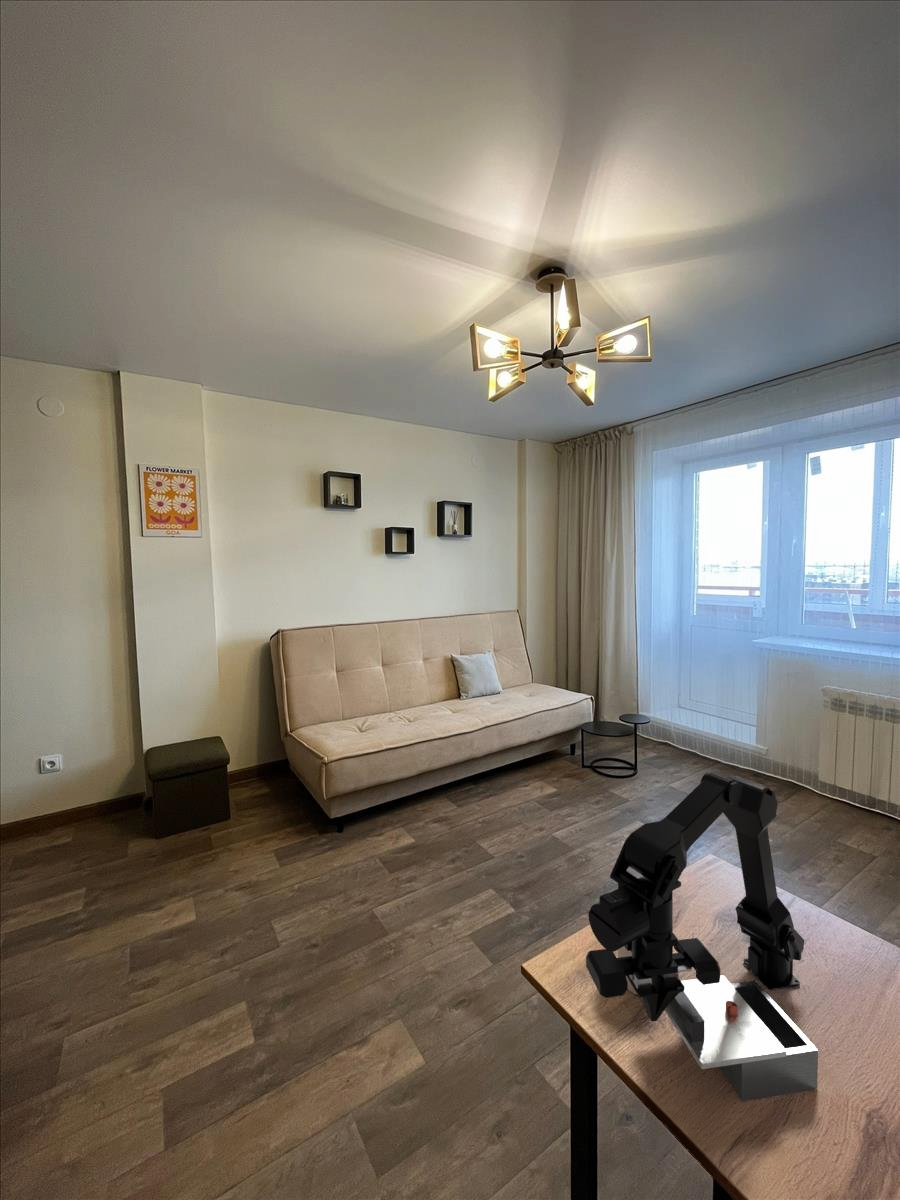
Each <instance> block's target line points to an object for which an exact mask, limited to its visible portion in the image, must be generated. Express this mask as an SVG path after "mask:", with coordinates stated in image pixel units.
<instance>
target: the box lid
mask: <svg viewBox="0 0 900 1200" xmlns="http://www.w3.org/2000/svg"><path fill="white" fill-rule="evenodd" d="M680 981H681V982H682V984H683V985H684V987H685V989H684V992H680V993H679V994H678V995H677V996H676V997H675V998H674V999H673V1000H672V1001H671V1002H670V1004H669V1005H668V1006H667V1007H666V1009H665V1010H664V1012H665V1013H666V1015H667V1016H668V1019H670V1021H671V1023H672V1024H673V1026H674V1027H675V1029H676V1030H677V1032H678V1034H679V1036H680V1037H681V1038H682V1040H683V1041H684V1043H685V1045H686V1047H687V1048H688V1050H689V1052H690V1053H691V1054H692V1056H693V1058H694V1060H695V1061H696V1063H697V1064H698V1066H699V1068H700V1069H701V1070H706V1069H707V1070H708V1069H713V1068H719V1067H720V1066H727V1065H734V1064H740V1063H747V1062H753V1061H760V1060H766V1059H773V1058H779V1057H786V1053H787V1051H786V1050H785V1049H784V1047H783V1046H782V1045H781V1044H780V1043H779V1041H778V1040H777V1039H776V1038H775V1037H774V1035H773V1034H772V1033H771V1032H770V1031H769V1029H768V1028H767V1027H766V1026H765V1025H764V1023H763V1022H762V1021H761V1020H760V1019H759V1017H758V1016H757V1015H756V1014H755V1013H754V1011H753V1010H752V1009H751V1008H750V1007H749V1005H748V1004H747V1003H746V1002H745V1000H744V999H743V998H742V997H741V996H740V994H739V993H738V992H737V991H736V990H735V988H734V987H733V986H732V985H731V984H732V983H731V982H730V981H729V980H728V979H727V977H726V976H725V975H724V974H723V975H720V982H719V983H713V984H706V985H703V984H702V983H701V982H700V981H699V980H698V979H697V978H694V979H685V980H680Z"/></svg>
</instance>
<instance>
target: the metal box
mask: <svg viewBox="0 0 900 1200" xmlns="http://www.w3.org/2000/svg"><path fill="white" fill-rule="evenodd" d="M730 984H731V985H732V986H733V987H734V988H735V990H736V991H737V992H738V993H739V994H740V996H741V997H742V998H743V999H744V1000H745V1002H746V1003H747V1004H748V1005H749V1007H750V1008H751V1009H752V1010H753V1011H754V1013H755V1014H756V1015H757V1016H758V1017H759V1019H760V1020H761V1021H762V1022H763V1023H764V1025H765V1026H766V1027H767V1028H768V1029H769V1031H770V1032H771V1033H772V1034H773V1035H774V1037H775V1038H776V1039H777V1040H778V1041H779V1043H780V1044H781V1045H782V1046H783V1047H784V1049H785V1050H786V1051H787V1053H786V1057H779V1058H773V1059H766V1060H760V1061H753V1062H747V1063H740V1064H734V1065H727V1066H720V1067H718V1069H719V1070H720V1071H721V1073H722V1074H723V1076H724V1078H725V1079H726V1080H727V1082H728V1084H729V1086H731V1088H732V1089H733V1090H734V1092H735V1094H736V1096H737V1097H738V1099H739V1100H740V1102H748V1101H752V1100H753V1101H754V1100H759V1099H760V1100H761V1099H765V1098H773V1097H776V1096H783V1095H789V1094H796V1093H804V1092H809V1091H814V1090H818V1076H819V1075H818V1070H819V1069H818V1068H819V1067H818V1066H819V1050H818V1048H817V1047H816V1046H815V1044H814V1043H812V1041H810V1039H809V1038H808V1037H807V1036H806V1035H805V1034H804V1033H803V1031H802V1030H801V1029H800V1028H799V1027H798V1026H797V1025H796V1023H794V1021H792V1019H791V1018H790V1017H789V1016H788V1015H787V1014H786V1013H785V1012H784V1010H783V1009H782V1008H781V1007H780V1006H779V1005H778V1004H777V1002H776V1001H775V1000H774V999H773V998H772V997H771V996H770V995H769V994H768V992H767V991H765V990H764V988H763V987H762V986H761V985H760V984H759V983H758V981H756V980H748V981H741V982H740V981H739V982H734V983H733V982H732V983H730Z"/></svg>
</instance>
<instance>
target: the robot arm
mask: <svg viewBox="0 0 900 1200" xmlns="http://www.w3.org/2000/svg"><path fill="white" fill-rule="evenodd" d="M777 810H778V799H777V798H776V794H775V792H774V791H773V790H772V789H771V788H769V787H767V786H764V785H761V784H758V783H756V782H752V781H750V780H747V779H745V778H742V777H739V776H736V775H729V776H727V777H726V776H723V775H720V774H718V773H715V772H706V773H704V774H703V776H702V777H701V780H700V782H699V784H698V785H696V787H695V788H694V789H693V790H692V791H691V792H690V793H688V794H687V796H686V797H685V798H683V799H682V800H681V801H680V802H679V803H678V804H677V805H676V806H675V807H674V808H673V809H672V810H671V811H670V812H669V813H668V814H667V815H666V816H665V817H664V818H663V819H661V820H659V821H653V822H646V823H644V824H643V825H641V826H640V827H638V828H637V829H635V830H634V831H632V832H630V834H629V835H628V836H627V837H626V839H625V841H624V843H623V844H622V847H621V850H620V851H619V854H618V855H617V859H616V861H615V863H614V866H613V868H612V871H611V873H610V875H609V877H610V879H611V880H613V881H614V882H615V883H617V889H615V890H612V891H610V892H607V893H603V894H601V895H600V896H599V899H598V900H599V901H598V902H596V903H594V904H592V905H591V907H590V909H589V911H588V913H587V914H588V921H589V922H588V923H589V926H590V928H591V931H592V933H593V935H594V937H595V938H596V940H597V942H599V944H600V945H601V946H602V947H603V948H604V949H603V948H602V949H595V950H594V949H593V950H589V951H587V954H586V956H585V967H586V969H587V971H588V974H589V975H590V977H591V980H592V981H593V983H594V986H595V987H596V990H597V991H598V993H599V995H600V996H601V997H603V998H605V999H608V998H615V997H623V996H624V994H625V993H627V991H629V990H628V982H627V979H626V976H627V978H628V980H629V981H630V983H631V985H632V987H633V988H634V990H635V992H636V994H637V995H636V994H635V995H636V996H638V997H640V998H641V1001H642V1003H643V1006H644V1008H645V1011H646V1014H647V1017H648V1018H649V1020H650V1022H651V1023H652V1022H657V1021H658V1020H659V1018H660V1017H661V1016H662V1014H663V1013H664V1012H665V1009H666V1007H667V1006H668V1005H669V1004H670V1002H671V1001H672V1000H673V999H674V998H675V997H676V996H677V995H678V994H679V993H680V992H684V989H685V987H684V985H683V984H682V982H681V981H682V980H681V979H680V975H679V974H680V973H685V972H691V971H692V970H693V969H694V970H695V979H698V980H699V981H700V982H701V983H702V984H703V985H706V984H713V983H719V982H720V976H721V967H720V964H719V962H718V960H717V959H716V958H715V956H714V955H713V954H712V953H711V952H710V951H709V949H708V948H707V947H706V945H704V943H702V941H701V940H700V939H699V938H698V937H691V938H686V939H684V938H683V939H679V938H678V937H677V936H676V934H674V932H673V929H674V928H673V927H674V926H673V925H674V922H673V921H674V920H673V918H674V917H673V913H674V912H673V911H674V908H673V905H674V904H673V903H674V901H673V900H674V899H673V895H674V893H673V891H675V890H677V889H678V888H680V887H682V882H681V881H680V880H679V879H680V877H681V875H682V873H683V872H684V870H685V869H686V868H687V865H688V862H687V861H688V860H687V859H688V851H689V850H690V848H691V846H693V844H695V842H696V841H698V840H699V838H700V837H701V836H702V835H703V834H704V833H705V832H706V831H707V830H708V829H709V827H711V826H712V825H713V823H714V822H715V821H716V820H717V819H718V818H720V816H721V815H722V814H723V815H724V816H725V817H726V819H727V820H728V821H729V822H730V824H731V825H732V826H733V828H734V829H735V830H734V831H735V835H736V841H737V849H738V855H739V860H740V866H741V873H742V878H743V879H742V880H743V885H744V886H743V887H744V891H745V896H744V897H743V898H742V899H741V900H740V901H739V903H737V904H738V905H736V907H735V912H736V923H737V924H738V925H739V927H740V931H741V933H742V934H745V935H747V936H748V937H749V946H747V947H748V948H747V958H744V959H743V963H744V965H745V966H746V967H747V968H748V969H749V971H751V972H752V974H753V975H755V977H756V978H757V979H758V980H759V981H760V982H761V983H762V984H763V985H764V987H765V988H766V989H768V990H771V991H772V990H778V989H786V988H794V987H799V986H800V985H801V982H800V981H799V979H798V978H797V977H795V976H794V974H793V972H794V970H793V969H794V961H798V962H799V961H801V960H802V953H803V952H804V949H805V947H804V946H805V945H804V944H805V939H804V938H803V937H802V936H801V934H800V933H799V932H798V931H797V930H796V929H795V927H794V922H793V919H792V916H791V913H790V911H789V909H788V908H787V906H786V905H785V904H784V903H783V902H782V900H781V899H780V898H779V896H778V893H777V891H778V890H777V884H776V878H775V871H774V865H773V857H772V850H771V845H770V844H771V843H770V837H769V836H770V835H769V831H768V827H769V826H770V825H771V823H772V822H773V821H775V819H776V817H777ZM629 868H630V869H632V870H633V871H635V872H636V873H638V874H639V875H641V876H640V877H637V876H635V875H634V874H633V873H630V872H629V871H628V869H629ZM623 946H625V948H626V949H627V951H631V952H632V956H628V957H620V958H618V957H617V956H616V954H615V953H614V952H616V951H618V949H620V948H622V947H623ZM674 950H675V951H676V953H674Z"/></svg>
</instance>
